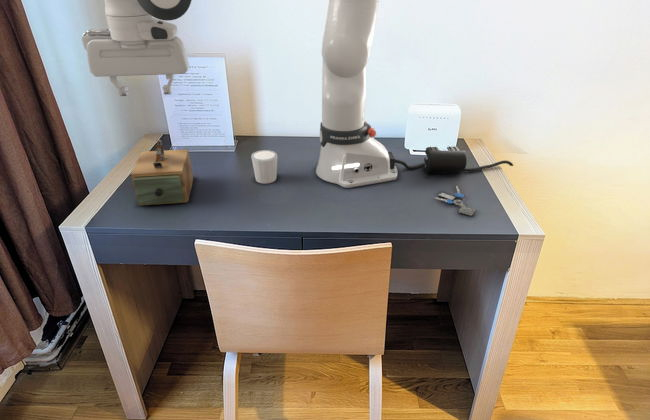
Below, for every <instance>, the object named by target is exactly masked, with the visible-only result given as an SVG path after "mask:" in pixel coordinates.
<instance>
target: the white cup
mask: <svg viewBox="0 0 650 420" xmlns="http://www.w3.org/2000/svg"><path fill="white" fill-rule="evenodd" d="M250 157H251V162H252V168H253V172H254V177H255V178H254V179H255V182H257V183H259V184H271V183H274V182H275V181H276V180H277V177H278V175H277V174H278V173H277V170H278V154H277V152H275V151H273V150H269V149H262V150H257V151H254V152H253V153H251V156H250Z"/></svg>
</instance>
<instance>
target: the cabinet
mask: <svg viewBox="0 0 650 420" xmlns="http://www.w3.org/2000/svg"><path fill="white" fill-rule="evenodd" d="M156 151H157V150H151V151H141V153H140V154H139V156H138V159H137V161H136V162H135V165H134V166H133V169H132V171H131V173H130V177H131V181H132V185H133V188H134V192H135V197H136V200H137V203H138V206H142V205H139V201H138V197H137V193H136V189H135V186H134V182H133V179H134V178H136V177H142V176H159V175H175V174H179V175H180V177H181V182H182V187H183V192H184V197H185V201H184V202H174V203H173V204H182V203H184V204H185V203H189V200H190V196H191V195H190V194H191V191H192V186H193V182H194V173H193V169H192V164H191V163H192V162H191V157H190V151H189V149H187V148H186V149H170V150H167V149H166V150H164V157H163V160H160V161H161V164H162V167H163V168H155V167H154V165H153V162H155V161H156ZM167 204H168V205H169V204H170V203H160V204H159V205H167ZM144 206H156V204H145V205H144Z"/></svg>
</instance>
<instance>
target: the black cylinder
mask: <svg viewBox="0 0 650 420" xmlns="http://www.w3.org/2000/svg"><path fill="white" fill-rule="evenodd" d="M424 154H425V155H426V156H425V157H424V158H423V163H425V164H426V165H424V166H423V169H424V171H425V173H426V174H427V175H432V174H438V175H439V174H461V173H462V172H463V173H464V172H465V171H464V170H465V168H467V164H468V163H467V161H468V158H467V153H466V151H465V150H461V149H459V148H458V146H447V147H446V150H441V149H439V147H438V146H427V147H426V148H425V151H424Z"/></svg>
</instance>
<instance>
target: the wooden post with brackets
mask: <svg viewBox="0 0 650 420" xmlns="http://www.w3.org/2000/svg"><path fill="white" fill-rule="evenodd" d="M162 145H163V142H162V140H161V139H158V140H156V149H155V151H156V161H155V162H153V165H154V167H155V168H163V167H162V164H161V161H160V160H163V157H164V151H165V149H164V148H163V146H162Z"/></svg>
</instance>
